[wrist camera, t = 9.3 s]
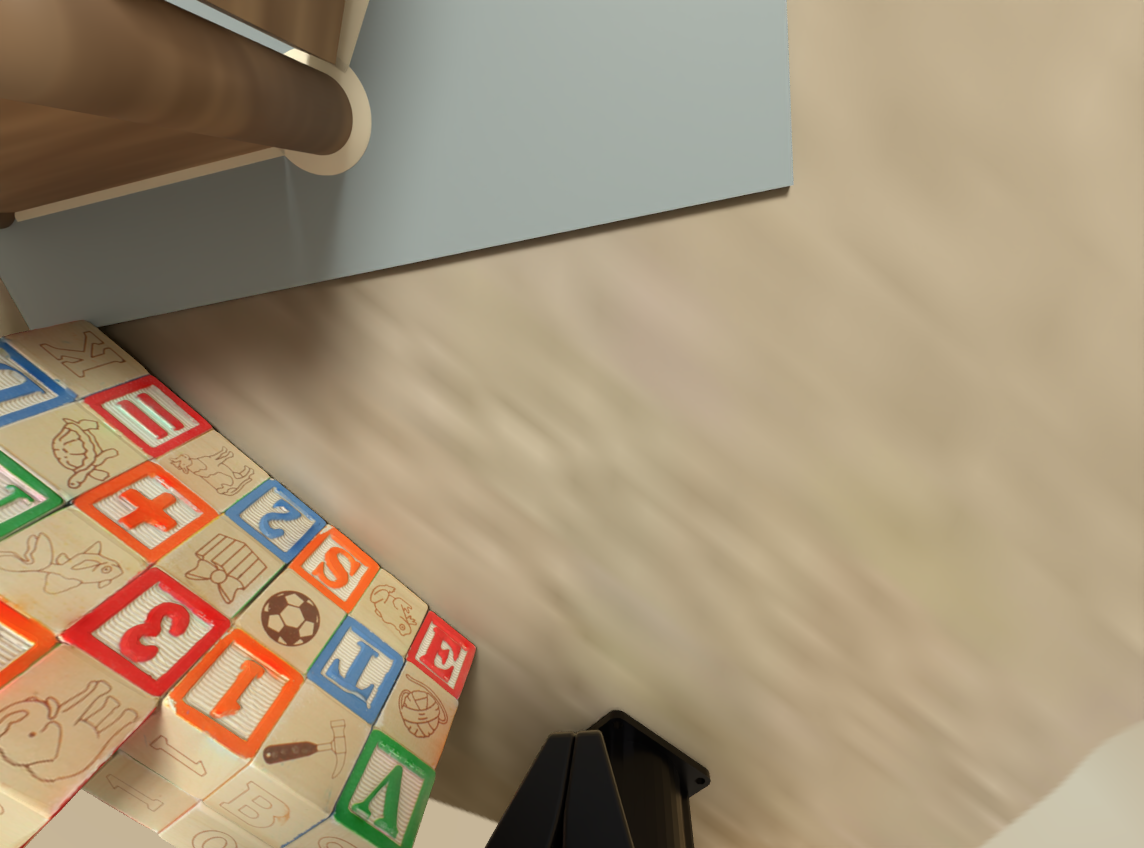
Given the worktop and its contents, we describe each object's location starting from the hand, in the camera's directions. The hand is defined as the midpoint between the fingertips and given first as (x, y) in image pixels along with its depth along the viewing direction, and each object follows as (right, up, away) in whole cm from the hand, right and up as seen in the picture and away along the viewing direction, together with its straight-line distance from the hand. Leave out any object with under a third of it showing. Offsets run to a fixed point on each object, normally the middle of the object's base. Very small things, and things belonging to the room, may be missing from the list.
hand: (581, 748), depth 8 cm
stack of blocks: (-14, 0, +15) cm, 21 cm away
